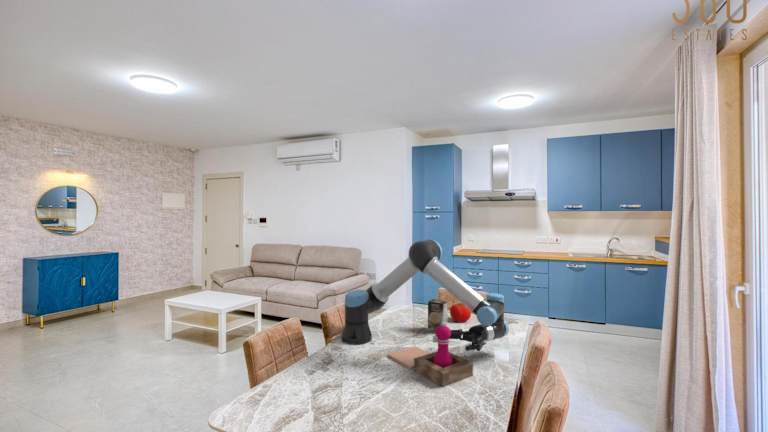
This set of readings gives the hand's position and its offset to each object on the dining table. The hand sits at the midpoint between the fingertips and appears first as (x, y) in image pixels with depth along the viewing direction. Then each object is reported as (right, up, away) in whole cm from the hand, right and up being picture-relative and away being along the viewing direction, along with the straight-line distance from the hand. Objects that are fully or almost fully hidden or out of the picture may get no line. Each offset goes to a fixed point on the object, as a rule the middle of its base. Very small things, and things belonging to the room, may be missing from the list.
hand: (445, 344), depth 137 cm
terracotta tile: (-11, -11, +15) cm, 22 cm away
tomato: (+21, -12, +70) cm, 74 cm away
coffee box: (+5, -12, +51) cm, 52 cm away
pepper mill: (-1, -12, 0) cm, 12 cm away
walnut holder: (-1, -11, 0) cm, 11 cm away
